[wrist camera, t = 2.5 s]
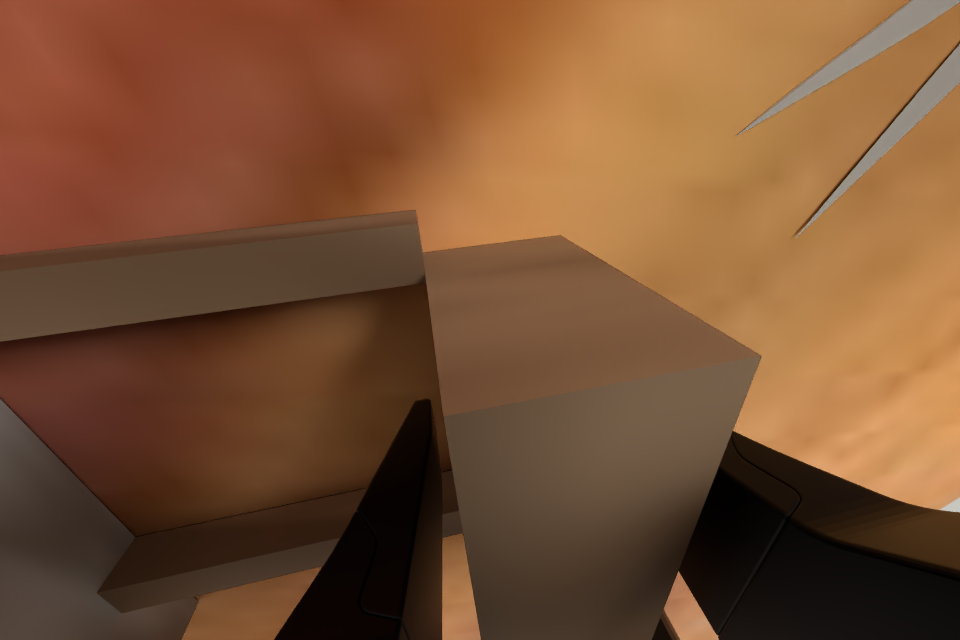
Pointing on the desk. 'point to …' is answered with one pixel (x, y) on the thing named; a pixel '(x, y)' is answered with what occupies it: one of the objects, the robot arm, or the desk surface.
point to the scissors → (908, 19)
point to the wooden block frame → (467, 417)
